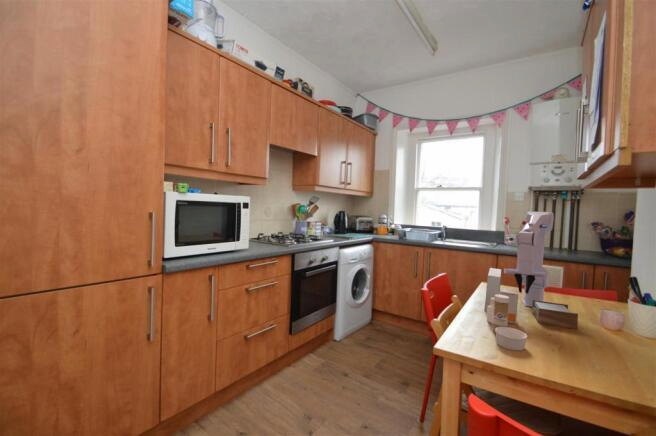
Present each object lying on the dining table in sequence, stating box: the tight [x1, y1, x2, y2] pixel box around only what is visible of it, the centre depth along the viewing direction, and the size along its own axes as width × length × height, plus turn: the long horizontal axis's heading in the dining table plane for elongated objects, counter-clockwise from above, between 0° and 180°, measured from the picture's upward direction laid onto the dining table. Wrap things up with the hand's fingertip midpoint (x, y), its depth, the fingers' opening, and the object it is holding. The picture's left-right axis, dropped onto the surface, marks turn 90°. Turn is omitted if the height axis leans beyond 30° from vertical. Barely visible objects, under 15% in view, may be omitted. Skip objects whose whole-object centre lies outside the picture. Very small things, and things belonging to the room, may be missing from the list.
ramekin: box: [495, 326, 528, 352], centre depth 95 cm, size 9×9×4 cm
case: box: [531, 300, 579, 330], centre depth 117 cm, size 12×12×6 cm
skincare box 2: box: [500, 288, 519, 325], centre depth 116 cm, size 6×4×12 cm
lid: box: [534, 302, 572, 313], centre depth 117 cm, size 10×10×2 cm
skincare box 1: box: [483, 267, 502, 312], centre depth 134 cm, size 21×6×16 cm, turn 148°
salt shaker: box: [486, 298, 495, 325], centre depth 113 cm, size 4×4×10 cm
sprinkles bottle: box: [492, 294, 509, 334], centre depth 104 cm, size 5×5×13 cm
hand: (523, 292), depth 121 cm, fingers closed
